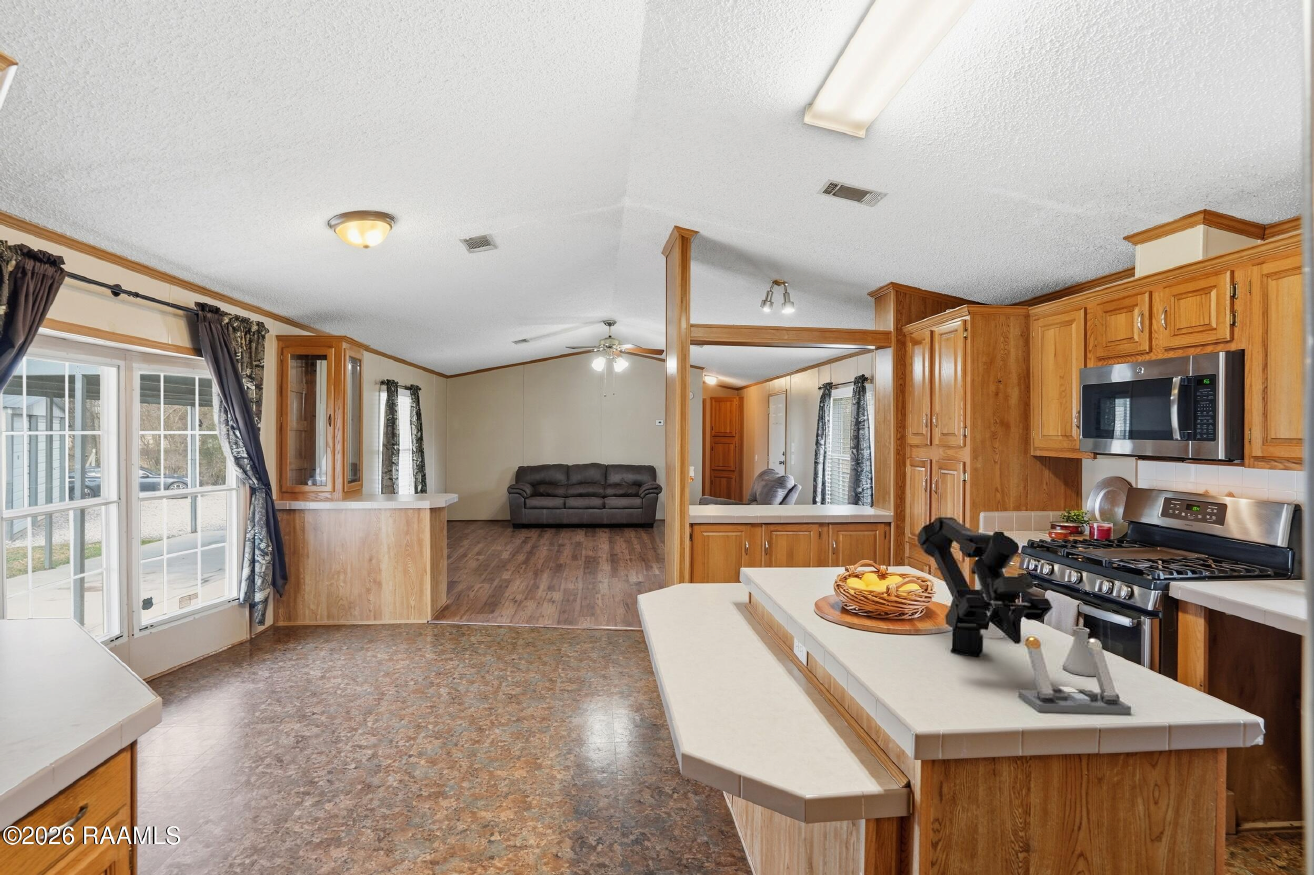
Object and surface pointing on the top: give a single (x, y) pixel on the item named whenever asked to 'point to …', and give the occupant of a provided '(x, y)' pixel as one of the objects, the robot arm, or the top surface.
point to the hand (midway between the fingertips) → (1018, 642)
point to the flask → (1079, 654)
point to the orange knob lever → (1039, 669)
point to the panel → (1074, 702)
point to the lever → (1101, 671)
